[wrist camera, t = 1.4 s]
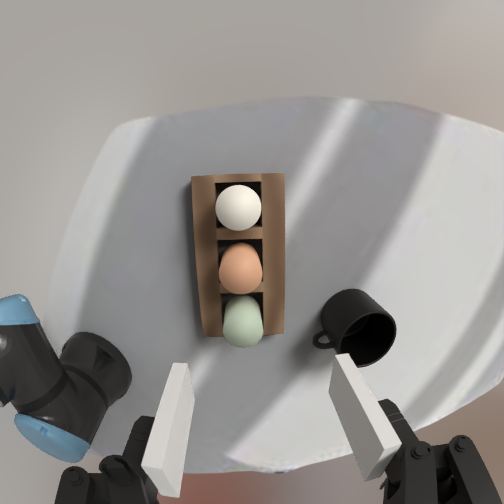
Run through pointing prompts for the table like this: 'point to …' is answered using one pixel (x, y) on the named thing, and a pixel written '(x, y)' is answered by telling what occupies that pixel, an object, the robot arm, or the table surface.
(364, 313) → the mug
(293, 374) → the table surface
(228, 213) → the white egg
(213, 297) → the wooden tray
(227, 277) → the peach egg
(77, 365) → the robot arm
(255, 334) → the pale green egg
